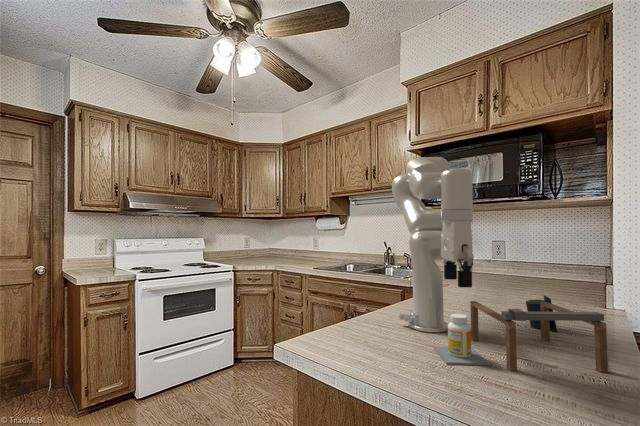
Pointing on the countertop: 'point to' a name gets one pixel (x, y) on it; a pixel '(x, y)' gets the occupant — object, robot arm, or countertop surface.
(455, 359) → the slate mat
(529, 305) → the speaker
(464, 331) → the supplement bottle
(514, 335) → the frame
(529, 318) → the tie bar
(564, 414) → the countertop surface
